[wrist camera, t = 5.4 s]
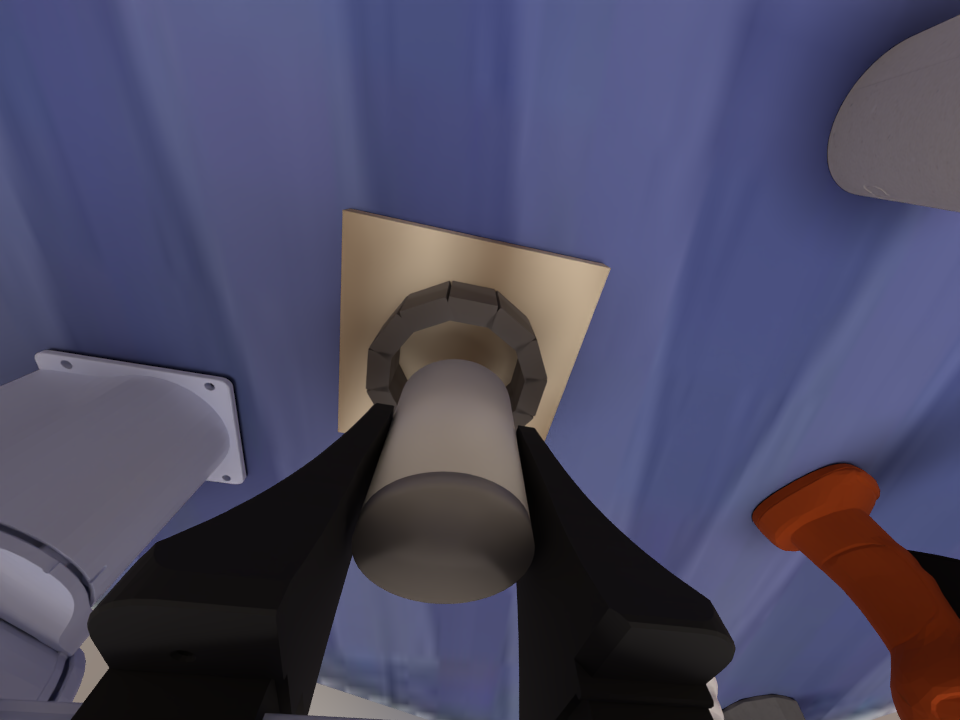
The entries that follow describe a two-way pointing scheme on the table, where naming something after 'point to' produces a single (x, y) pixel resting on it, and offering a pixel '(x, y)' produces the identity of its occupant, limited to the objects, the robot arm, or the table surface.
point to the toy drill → (878, 582)
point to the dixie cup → (904, 124)
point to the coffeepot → (764, 709)
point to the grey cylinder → (447, 492)
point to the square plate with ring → (457, 313)
